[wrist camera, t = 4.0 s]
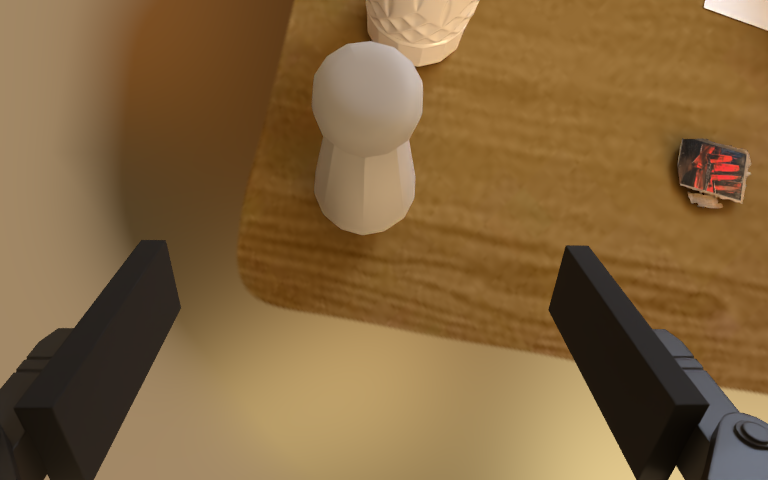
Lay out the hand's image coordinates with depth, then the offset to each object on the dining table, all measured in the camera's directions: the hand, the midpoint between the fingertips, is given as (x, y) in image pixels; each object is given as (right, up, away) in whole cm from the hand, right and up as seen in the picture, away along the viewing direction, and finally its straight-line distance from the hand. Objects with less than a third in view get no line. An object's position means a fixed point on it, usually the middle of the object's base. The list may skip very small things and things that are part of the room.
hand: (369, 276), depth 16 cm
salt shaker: (-1, +4, +14) cm, 14 cm away
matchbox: (+22, +5, +15) cm, 27 cm away
